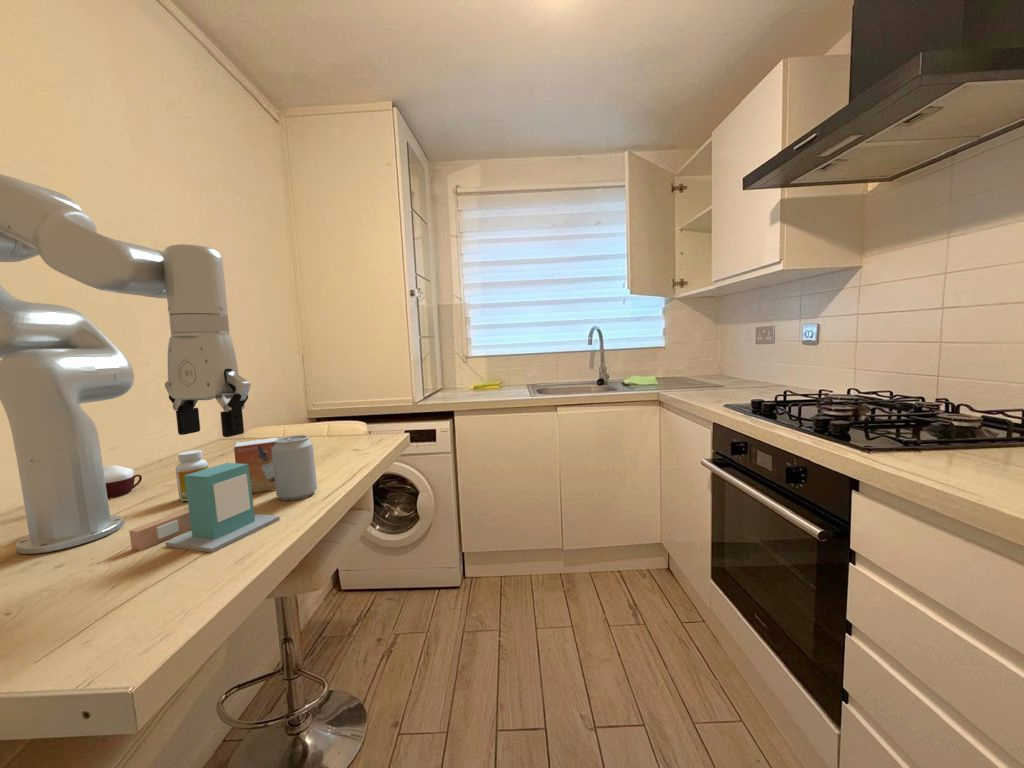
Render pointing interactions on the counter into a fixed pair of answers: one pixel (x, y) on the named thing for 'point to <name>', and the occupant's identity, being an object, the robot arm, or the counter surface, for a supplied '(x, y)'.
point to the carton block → (219, 500)
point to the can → (294, 467)
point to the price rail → (160, 530)
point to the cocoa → (119, 480)
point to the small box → (257, 462)
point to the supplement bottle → (188, 469)
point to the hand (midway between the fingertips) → (211, 434)
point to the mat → (214, 545)
